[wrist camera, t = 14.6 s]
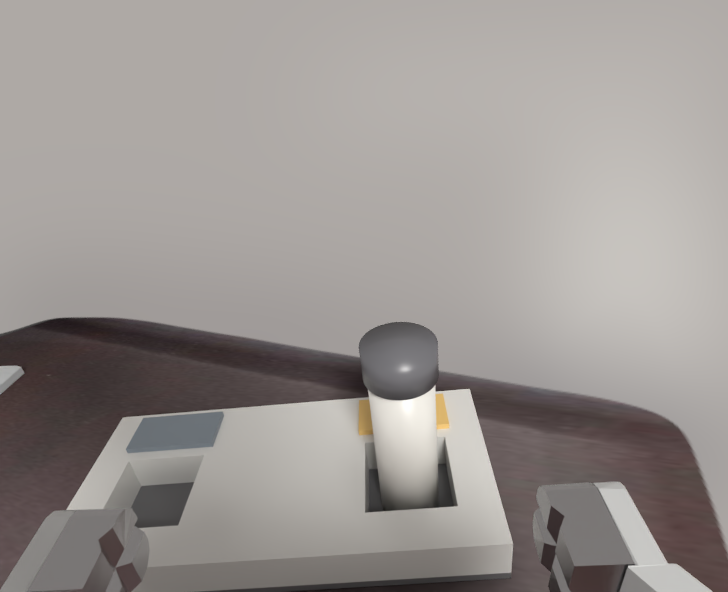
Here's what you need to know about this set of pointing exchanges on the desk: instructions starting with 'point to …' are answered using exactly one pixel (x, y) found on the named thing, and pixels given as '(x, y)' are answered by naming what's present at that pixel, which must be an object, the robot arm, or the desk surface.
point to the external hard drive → (9, 376)
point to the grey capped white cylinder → (403, 412)
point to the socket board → (297, 500)
